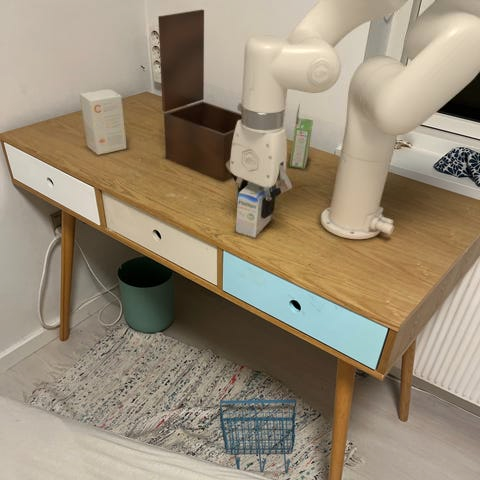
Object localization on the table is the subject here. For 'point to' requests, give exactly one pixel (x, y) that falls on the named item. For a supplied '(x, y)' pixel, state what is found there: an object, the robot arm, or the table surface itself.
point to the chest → (201, 138)
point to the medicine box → (251, 210)
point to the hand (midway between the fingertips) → (255, 209)
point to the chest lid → (181, 58)
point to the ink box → (301, 142)
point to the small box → (103, 121)
